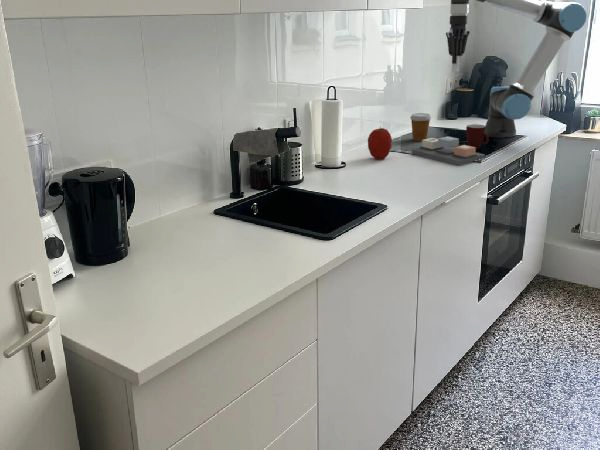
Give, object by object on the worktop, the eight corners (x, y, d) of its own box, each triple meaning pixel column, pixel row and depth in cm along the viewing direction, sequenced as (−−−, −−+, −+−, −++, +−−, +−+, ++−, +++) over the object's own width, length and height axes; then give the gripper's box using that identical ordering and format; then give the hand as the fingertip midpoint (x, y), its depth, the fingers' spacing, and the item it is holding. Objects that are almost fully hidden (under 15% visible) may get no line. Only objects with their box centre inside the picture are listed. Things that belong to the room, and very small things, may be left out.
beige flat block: (463, 151, 247) (464, 144, 246) (475, 154, 242) (475, 146, 241) (453, 154, 244) (454, 146, 243) (465, 156, 239) (465, 149, 238)
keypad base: (437, 148, 265) (437, 142, 264) (484, 159, 245) (485, 153, 244) (411, 153, 257) (412, 148, 256) (458, 165, 237) (458, 159, 236)
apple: (375, 154, 257) (376, 122, 253) (396, 157, 252) (397, 125, 247) (362, 159, 250) (363, 126, 245) (383, 162, 244) (384, 129, 239)
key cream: (431, 144, 261) (432, 137, 260) (442, 146, 256) (442, 139, 255) (422, 146, 258) (422, 139, 257) (432, 149, 253) (432, 141, 252)
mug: (492, 148, 262) (494, 126, 258) (484, 152, 256) (486, 129, 253) (469, 145, 268) (471, 123, 265) (461, 149, 263) (463, 126, 259)
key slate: (447, 143, 253) (448, 135, 252) (458, 145, 249) (459, 138, 247) (437, 145, 250) (438, 137, 249) (448, 147, 245) (449, 140, 244)
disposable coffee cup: (420, 143, 275) (422, 117, 271) (405, 140, 282) (406, 114, 278) (434, 140, 281) (435, 114, 277) (418, 136, 288) (419, 112, 284)
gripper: (462, 14, 262) (458, 69, 270) (441, 15, 255) (438, 71, 263) (475, 14, 256) (471, 70, 264) (455, 15, 249) (452, 73, 257)
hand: (455, 71), depth 264 cm, fingers closed
